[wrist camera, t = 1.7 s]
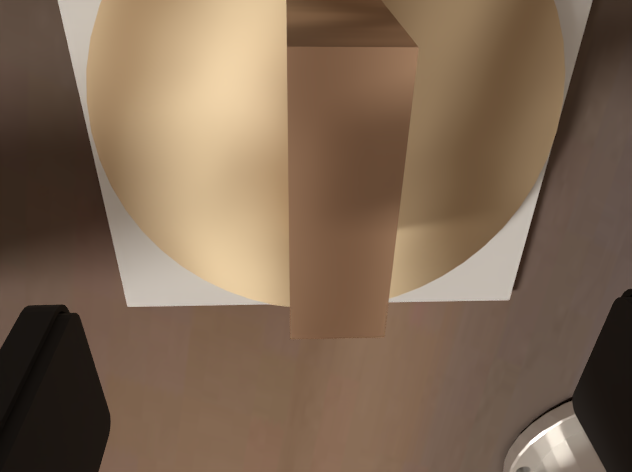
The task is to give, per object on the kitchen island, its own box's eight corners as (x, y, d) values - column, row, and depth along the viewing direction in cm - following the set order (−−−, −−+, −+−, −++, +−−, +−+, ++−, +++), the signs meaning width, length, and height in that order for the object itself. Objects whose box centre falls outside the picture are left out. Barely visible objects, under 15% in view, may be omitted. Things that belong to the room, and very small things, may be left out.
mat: (628, -167, 16) (639, -168, 16) (504, 292, 26) (509, 300, 26) (24, -183, 16) (15, -185, 15) (130, 298, 25) (127, 306, 25)
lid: (617, -148, 16) (803, -164, 10) (500, 291, 26) (564, 413, 20) (39, -163, 15) (-111, -188, 10) (136, 297, 25) (91, 426, 19)
